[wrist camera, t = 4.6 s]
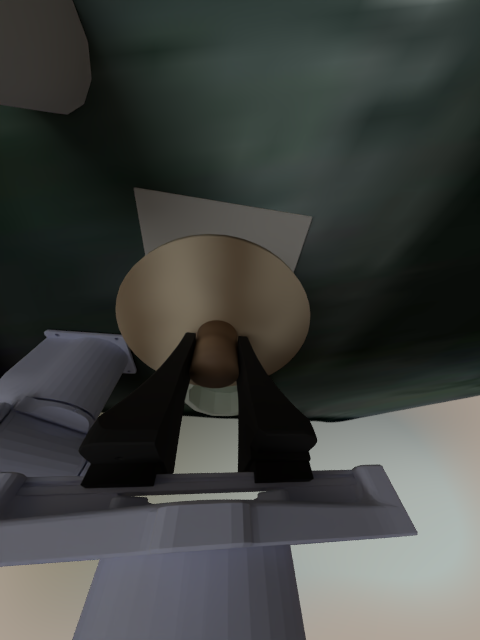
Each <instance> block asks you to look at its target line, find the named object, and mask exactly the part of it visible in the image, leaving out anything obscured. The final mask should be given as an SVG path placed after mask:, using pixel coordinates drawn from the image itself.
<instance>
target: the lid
mask: <svg viewBox="0 0 480 640" xmlns="http://www.w3.org/2000/svg"><path fill="white" fill-rule="evenodd" d="M116 318H117V322H118V326H119V330H120V332H121V334H122V336H123V338H124V340H125V342H126V343H127V345H128V346H129V348H130V349H131V350H132V351H133V352H134V354H135V355H136V356H137V357H138V358H140V359H141V360H142V361H143V362H144V363H145V364H147V365H148V366H149V367H151V368H152V369H154V370H157V369H158V368H159V367H160V366H161V365H162V364H163V363H164V362H165V361H166V359H167V358H168V357H169V356H170V355H171V353H172V352H173V351H174V350H175V348H176V347H177V346H178V344H179V343H180V341H181V340H182V338H183V337H184V335H185V333H187V332H191V333H196V342H195V347H194V352H193V356H192V361H191V366H190V370H189V376H190V378H191V379H190V383H189V384H192V385H198V386H202V387H206V388H223V387H229V386H237V383H236V380H237V379H238V376H239V367H238V347H237V342H238V337H239V336H247V337H248V339H249V341H250V344H251V346H252V348H253V350H254V352H255V354H256V356H257V358H258V360H259V361H260V363H261V365H262V366H263V368H264V370H265V371H266V373H267V374H268V375H270V374H272V373H274V372H276V371H277V370H279V369H280V368H282V367H283V366H284V365H285V364H287V363H288V362H289V361H290V360H291V359H292V358H293V357H294V356H295V355H296V353H297V352H298V351H299V349H300V348H301V346H302V344H303V343H304V341H305V338H306V336H307V333H308V329H309V324H310V308H309V302H308V299H307V296H306V293H305V291H304V289H303V287H302V285H301V283H300V281H299V280H298V279H297V277H296V276H295V274H294V273H293V272H292V270H291V269H290V268H289V267H288V266H287V265H286V264H285V263H284V262H283V261H282V260H281V259H280V258H279V257H278V256H276V255H275V254H273V253H272V252H271V251H269V250H267V249H266V248H264V247H262V246H260V245H258V244H256V243H253V242H251V241H248V240H245V239H242V238H238V237H233V236H228V235H219V234H200V235H191V236H186V237H182V238H178V239H175V240H172V241H170V242H167V243H165V244H162V245H161V246H159V247H157V248H156V249H154V250H152V251H151V252H149V253H148V254H147V255H146V256H145V257H143V258H142V259H141V260H140V261H139V262H138V263H136V264H135V265H134V266H133V268H132V269H131V270H130V271H129V273H128V274H127V275H126V277H125V278H124V280H123V282H122V284H121V286H120V289H119V292H118V295H117V300H116Z"/></svg>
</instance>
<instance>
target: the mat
mask: <svg viewBox="0 0 480 640" xmlns="http://www.w3.org/2000/svg"><path fill="white" fill-rule="evenodd" d="M134 193H135V199H136V205H137V211H138V216H139V222H140V228H141V233H142V239H143V245H144V250H145V256H146V255H147V254H148V253H149V252H151V251H152V250H154V249H156V248H157V247H159V246H161V245H162V244H165V243H167V242H170V241H172V240H175V239H178V238H182V237H186V236H191V235H200V234H219V235H228V236H233V237H238V238H242V239H245V240H248V241H251V242H253V243H256V244H258V245H260V246H262V247H264V248H266V249H267V250H269V251H271V252H272V253H273V254H275V255H276V256H278V257H279V258H280V259H281V260H282V261H283V262H284V263H285V264H286V265H287V266H288V267H289V268H290V269H291V270H292V272H293V273H294V270H295V267H296V264H297V261H298V258H299V255H300V252H301V249H302V246H303V243H304V240H305V237H306V235H307V232H308V229H309V226H310V223H311V220H312V217H311V216H305V215H299V214H293V213H287V212H281V211H275V210H269V209H263V208H257V207H251V206H245V205H239V204H233V203H227V202H221V201H215V200H209V199H203V198H197V197H191V196H185V195H178V194H172V193H166V192H160V191H154V190H148V189H142V188H134Z"/></svg>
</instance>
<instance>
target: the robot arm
mask: <svg viewBox="0 0 480 640" xmlns="http://www.w3.org/2000/svg"><path fill="white" fill-rule="evenodd" d="M44 334H45V335H46V337H47V338H46V339H45V340H44V341H42V342H41V343H40V344H39V345H38V346H37V347H36V348H34V349H33V350H32V351H31V352H30V353H29V354H27V355H26V356H25V357H24V358H23V359H22V360H20V361H19V362H18V363H17V364H16V365H15V366H13V367H12V368H11V369H10V370H9V371H8V372H6V373H5V374H4V375H3V376H2V378H1V379H0V567H2V566H14V565H29V564H43V563H56V562H70V561H83V560H96V559H97V560H98V559H100V560H99V563H98V566H97V569H96V572H95V575H94V578H93V581H92V584H91V587H90V589H89V592H88V595H87V598H86V601H85V604H84V607H83V610H82V613H81V616H80V619H79V622H78V624H77V627H76V631H75V633H74V637H73V639H72V640H306V638H305V632H304V625H303V619H302V613H301V608H300V601H299V595H298V589H297V584H296V578H295V571H294V565H293V560H292V554H291V548H290V545H297V544H311V543H324V542H336V541H348V540H349V541H350V540H363V539H376V538H389V537H400V536H413V535H417V531H416V529H415V527H414V525H413V523H412V521H411V520H410V518H409V516H408V514H407V512H406V510H405V508H404V506H403V505H402V503H401V501H400V499H399V497H398V495H397V493H396V491H395V490H394V488H393V486H392V484H391V482H390V480H389V478H388V476H387V475H386V473H385V471H384V469H383V467H382V466H381V465H360V466H357V467H354V468H353V469H352V470H327V471H326V470H325V471H312V470H311V467H310V463H309V461H310V455H309V450H310V449H311V448H312V447H314V446H315V444H316V443H317V438H316V435H315V432H314V429H313V427H312V425H311V423H310V420H309V419H308V418H307V417H306V416H304V415H303V414H302V413H301V412H300V411H299V410H298V409H297V408H296V407H295V406H294V405H293V404H292V403H291V402H290V401H289V400H288V399H287V398H286V397H285V396H284V394H283V393H282V392H281V391H280V390H279V389H278V388H277V386H276V385H275V384H274V382H273V381H272V380H271V378H270V377H269V376H268V374H267V373H266V371H265V370H264V368H263V366H262V365H261V363H260V361H259V360H258V358H257V356H256V354H255V352H254V350H253V348H252V346H251V344H250V341H249V339H248V337H247V336H239V337H238V342H237V347H238V367H239V376H238V379H237V380H236V383H237V392H238V420H239V421H238V424H239V425H238V426H239V428H238V430H239V434H238V439H239V440H238V441H239V442H238V472H235V473H194V474H193V473H190V474H173V473H174V466H175V459H176V453H177V445H178V439H179V433H180V426H181V421H182V415H183V409H184V403H185V398H186V394H187V390H188V387H189V383H190V379H191V378H190V376H189V370H190V366H191V361H192V356H193V352H194V347H195V342H196V333H191V332H187V333H185V335H184V337H183V338H182V340H181V341H180V343H179V344H178V346H177V347H176V348H175V350H174V351H173V352H172V353H171V355H170V356H169V357H168V358H167V359H166V361H165V362H164V363H163V364H162V365H161V366H160V367H159V368H158V369H157V370H156V371H155V372H154V373H153V374H152V375H151V376H150V377H149V378H148V379H147V380H146V381H145V382H144V383H143V384H142V385H140V386H139V387H138V388H137V389H136V390H135V391H133V392H132V393H131V394H129V395H128V396H127V397H126V398H124V399H123V400H122V401H120V402H119V403H118V404H116V405H115V406H113V407H112V408H111V409H109V410H108V411H106V412H105V413H103V414H102V415H101V416H99V414H100V413H101V411H102V409H103V407H104V405H105V404H106V402H107V400H108V398H109V396H110V395H111V393H112V391H113V389H114V387H115V386H116V384H117V382H118V380H119V378H120V377H121V375H122V373H136V371H137V369H136V366H135V363H134V360H133V357H132V354H131V351H130V348H129V346H128V345H127V343H126V342H125V340H124V338H123V336H122V335H117V334H102V333H88V332H74V331H59V330H46V331H45V332H44ZM98 416H99V417H98ZM256 491H266V492H260V493H258V498H256V499H254V500H197V501H182V502H171V503H160V504H151V503H149V502H148V499H147V497H135V496H145V495H171V494H172V495H174V494H200V493H201V494H202V493H230V492H256Z"/></svg>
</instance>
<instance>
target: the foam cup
mask: <svg viewBox="0 0 480 640" xmlns="http://www.w3.org/2000/svg"><path fill="white" fill-rule="evenodd" d="M91 80H92V77H91V67H90V57H89V47H88V41H87V38H86V36H85V33H84V30H83V27H82V25H81V22H80V19H79V17H78V14H77V11H76V9H75V6H74V3H73V0H0V105H6V106H12V107H19V108H25V109H32V110H38V111H45V112H51V113H58V114H66V115H68V114H69V113H71V112H72V111H74V110H75V109H77V108H79V107H80V106H82V105H83V104H84V103H85V99H86V96H87V93H88V90H89V87H90V83H91Z"/></svg>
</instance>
